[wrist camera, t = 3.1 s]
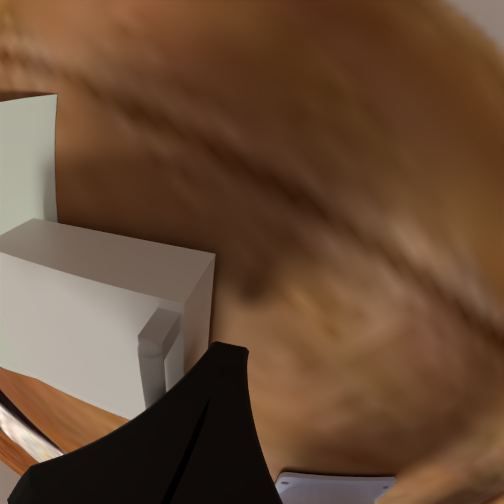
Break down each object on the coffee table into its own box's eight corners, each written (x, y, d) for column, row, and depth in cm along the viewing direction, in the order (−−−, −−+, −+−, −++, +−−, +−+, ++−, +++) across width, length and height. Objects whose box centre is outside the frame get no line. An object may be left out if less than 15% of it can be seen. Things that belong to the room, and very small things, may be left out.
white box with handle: (210, 369, 13) (173, 469, 9) (63, 324, 14) (2, 390, 9) (221, 244, 11) (160, 342, 6) (45, 212, 12) (-47, 263, 7)
